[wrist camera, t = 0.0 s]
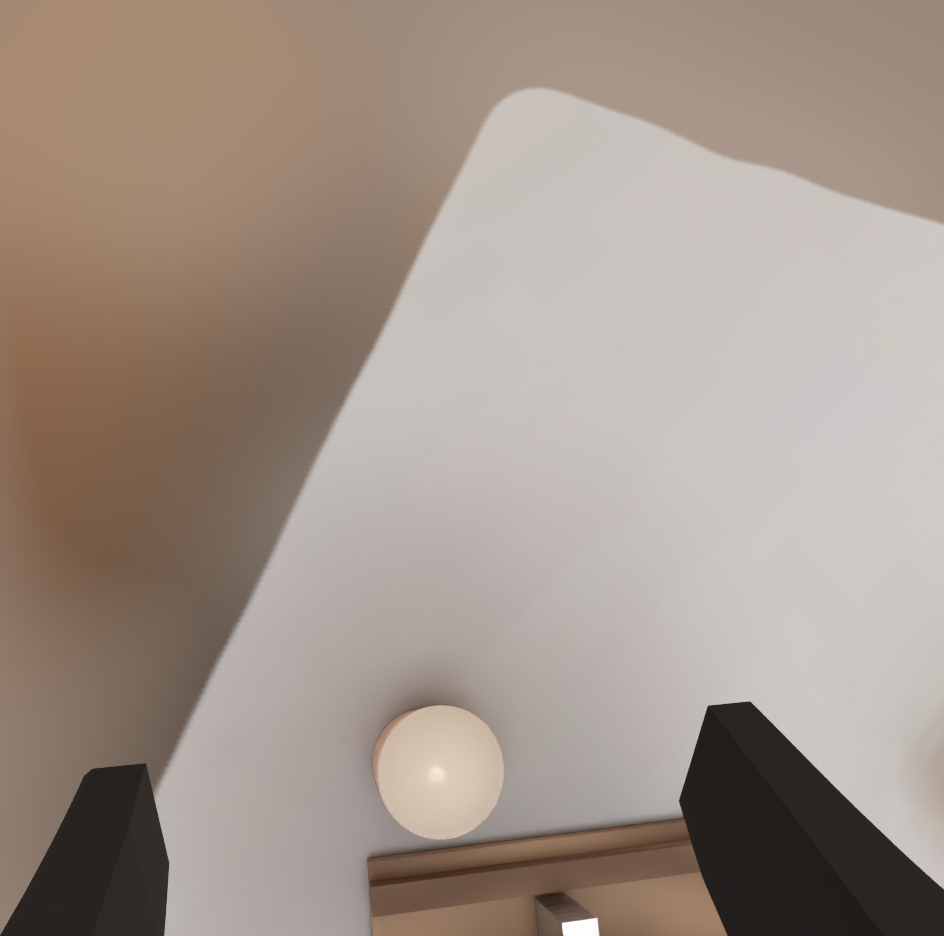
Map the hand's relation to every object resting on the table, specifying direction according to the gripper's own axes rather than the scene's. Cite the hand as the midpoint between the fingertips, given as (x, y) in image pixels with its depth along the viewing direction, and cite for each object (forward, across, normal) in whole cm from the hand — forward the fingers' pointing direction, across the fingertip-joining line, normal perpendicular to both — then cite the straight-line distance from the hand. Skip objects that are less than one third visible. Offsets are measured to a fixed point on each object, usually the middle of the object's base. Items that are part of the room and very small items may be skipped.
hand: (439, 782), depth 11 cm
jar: (+20, -3, +26) cm, 32 cm away
